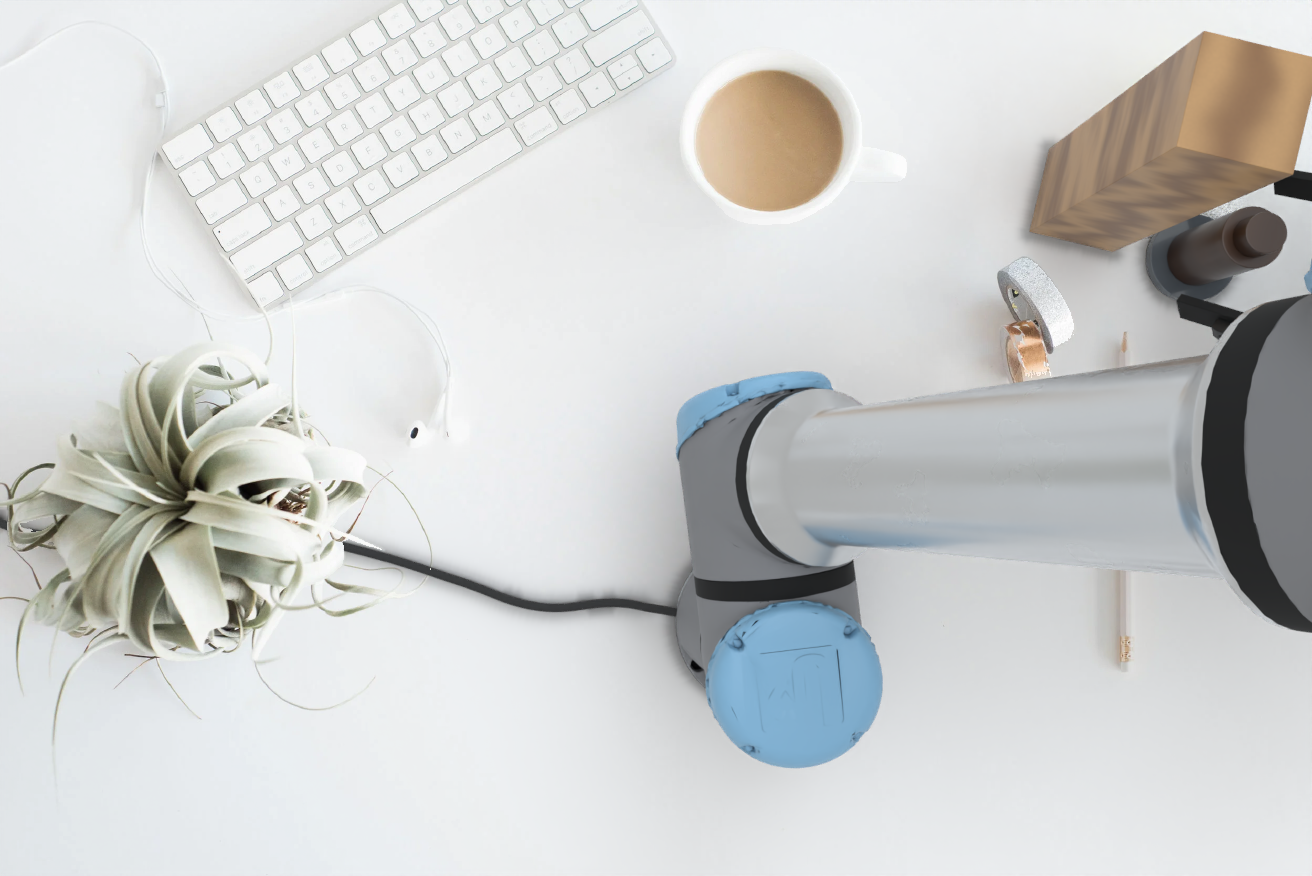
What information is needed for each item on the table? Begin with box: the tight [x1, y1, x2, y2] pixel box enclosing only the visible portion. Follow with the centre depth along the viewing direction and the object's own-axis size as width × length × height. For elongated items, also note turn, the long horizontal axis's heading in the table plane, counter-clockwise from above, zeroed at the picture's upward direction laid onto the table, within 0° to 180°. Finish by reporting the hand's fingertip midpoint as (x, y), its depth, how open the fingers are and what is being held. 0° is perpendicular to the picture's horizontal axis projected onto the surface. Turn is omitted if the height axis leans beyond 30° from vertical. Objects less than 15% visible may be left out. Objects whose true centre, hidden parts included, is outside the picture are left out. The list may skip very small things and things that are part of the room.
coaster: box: [1145, 214, 1234, 301], centre depth 77 cm, size 8×8×1 cm
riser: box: [1029, 30, 1312, 253], centre depth 66 cm, size 8×8×22 cm
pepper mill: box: [1167, 205, 1288, 286], centre depth 72 cm, size 5×5×9 cm
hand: (1227, 243), depth 72 cm, fingers open, 13 cm apart
